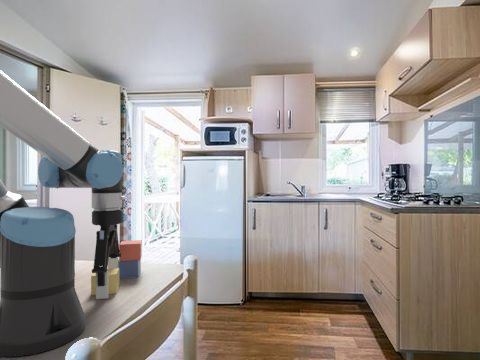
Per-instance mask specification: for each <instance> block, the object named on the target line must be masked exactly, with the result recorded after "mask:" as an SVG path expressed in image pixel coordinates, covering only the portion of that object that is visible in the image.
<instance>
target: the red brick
mask: <svg viewBox="0 0 480 360" xmlns="http://www.w3.org/2000/svg"><path fill="white" fill-rule="evenodd" d="M142 241H143V240H141V239H138V240H137V239H136V240H135V239H134V240H122V241H120V243H119V251H120V252H119V253H121V257H118V260H119V261H135V260H141V259H142V257H143V256H142V255H143V254H142V253H143V252H142V247H143V246H142Z"/></svg>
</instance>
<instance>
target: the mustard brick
mask: <svg viewBox="0 0 480 360" xmlns="http://www.w3.org/2000/svg"><path fill="white" fill-rule="evenodd" d="M107 271H108V294H110V295H111V294H113V295H114V294H117V292H118V290H119V288H120V278H119V268H113V269H108V268H107ZM90 283H91V284H90V294H91V295H90V296H96V273H92V274H91V276H90Z"/></svg>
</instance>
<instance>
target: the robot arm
mask: <svg viewBox="0 0 480 360" xmlns="http://www.w3.org/2000/svg"><path fill="white" fill-rule="evenodd" d="M0 127H1V128H3V129H4V130H6V131H7V132H8V133H10V134H11V135H13V136H14V137H16V138H17V139H19V140H20V141H21V142H23V143H24V144H26V145H27V146H28V147H30V148H31V149H33V150H34V151H36V152H37V153H39V154H40V155H42V158H41V159H40V161H39V163H38V166H37V167H38V169H37V177H38V180H39V182H40V184H41V186H42V187H44V188H46V189H67V188H69V189H79V188H80V189H85V188H86V189H91V208H92V209H93V210H92V211H91V223H92V225H94V226H100V229H99V230H97V231H96V233H95V234H96V235H95V236H96V242H95V249H94V250H95V251H94V259H93V261H94V262H93V268H92V269H91V273H92V274H93V273H96V295H95V300H103V299H104V300H107V299H108V298H109V294H108V271H107V269H113V268H118V260H119V257H121V253H119V252H120V251H119V245H120V243H119V237H118V235H119V234H118V225H119V224H122V223H123V218H124V217H123V214H124V212H123V209H121V208H122V207H123V200H125V196H124V195H123V175H124V166H123V158H122V154H121V152H119V151H117V150H109V149H108V150H105V149H100V150H99V149H98V148H96V147H95V146H94V145H92V143H90V142H89V141H88V140H86V139H85V138H84V137H83V136H81V135H80V134H79V132H76V130H74V128H72V127H71V126H70V125H68V124H67V123H66V122H64V121H63V120H62V119H61V118H60V117H59V116H57V115H56V114H55V113H53V111H51V110H50V109H49V108H48V107H46V105H44V104H43V103H41V102H40V101H39V100H37V98H35V97H34V96H33V95H31V93H29V92H28V91H27V90H26V89H25V88H23V87H22V86H20V85H19V84H18V83H17V82H15V80H13V79H12V78H11V77H9V75H7V74H6V73H4V71H2V70H1V69H0ZM76 232H77V231H76V226H75V217H74V215H73V214H72V213H71V212H70V211H69V210H66V209H63V208H59V207H50V206H49V207H48V206H29V205H28V203H27V201H26V200H25V199H24V197H23V196H22V194H19V193H16V192H11V191H9V189H8V188H7V187H6V185H5V184H4V182H3V181H2V179H1V178H0V357H4V358H7V357H9V358H12V357H23V356H22V355H25V356H29V355H30V354H31V355H35V354H39V353H44V352H47V351H50V350H53V349H56V348H58V347H61V346H63V345H65V344H68V343H70V342H71V341H73V340H75V339H76V338H78V337H79V336H80V335H81V334H82V333H83V331H84V330H85V326H86V325H85V323H86V322H85V319H86V316H85V313H84V310H83V307H82V303H81V301H80V299H79V296H78V293H77V291H76V289H75V287H76V286H75V280H76V279H75V277H76V268H75V267H76V265H75V264H76V263H75V259H76V257H75V256H76V254H75V253H76V251H75V250H76V244H75V243H76Z"/></svg>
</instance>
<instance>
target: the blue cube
mask: <svg viewBox="0 0 480 360" xmlns="http://www.w3.org/2000/svg"><path fill="white" fill-rule="evenodd" d="M141 263H142V261H141V260H135V261H119V259H118V268H119V279H129V278H131V279H133V277H134V278H139V276H140V274H141V272H142V270H141V268H142V267H141V265H142V264H141Z"/></svg>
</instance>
